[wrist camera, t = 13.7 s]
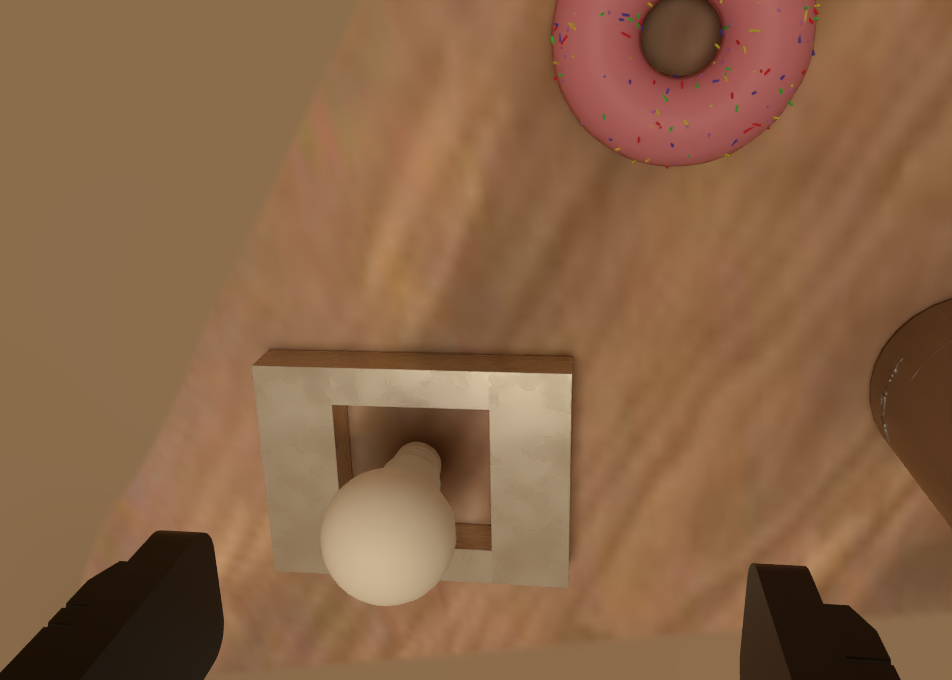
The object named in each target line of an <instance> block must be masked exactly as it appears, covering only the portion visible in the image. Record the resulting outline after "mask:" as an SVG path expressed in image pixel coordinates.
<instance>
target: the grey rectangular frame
mask: <svg viewBox="0 0 952 680" xmlns="http://www.w3.org/2000/svg"><path fill="white" fill-rule="evenodd" d="M252 373H253V382H254V390H255V399H256V408H257V417H258V426H259V435H260V444H261V452H262V461H263V470H264V479H265V488H266V497H267V505H268V514H269V523H270V532H271V541H272V550H273V559H274V567H275V571H287V572H304V573H321V574H330V573H329V571H328V569H327V567H326V565H325V563H324V559H323V556H322V550H321V540H320V534H321V526H322V521H323V517H324V514H325V512H326V509H327V507H328V505H329V503H330V502H331V500H332V499H333V497H334V496H335V494H336V493H337V492H338V491H339V490H340V489H341V488H342V487H343V486H344V485H345V484H346V483H348V482H349V481H350V480H351V479H352V467H351V454H350V441H349V428H348V415H347V405H352V406H383V407H415V408H446V409H477V410H489V418H490V476H491V525H474V524H455V528H456V544H455V550H454V554H453V558H452V561H451V563H450V565H449V567H448V569H447V571H446V572H445V574H444V575H443V577H442V578H441V579H440V580H441V581H458V582H475V583H492V584H509V585H526V586H543V587H560V588H568V582H569V558H570V497H571V436H572V375H573V356H534V355H491V354H449V353H407V352H365V351H323V350H280V349H269V350H268V351H267V352H266V353H265V354H264V355H263V356H262V357H261V358H259V359H258V360H257V361H256V362H255V363H254V364H253V365H252Z"/></svg>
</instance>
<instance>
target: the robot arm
mask: <svg viewBox="0 0 952 680" xmlns="http://www.w3.org/2000/svg"><path fill="white" fill-rule="evenodd" d="M870 404H871V409H872V413H873V417H874V421H875V423H876V425H877V427H878V429H879V430H880V432H881V434H882V436H883V437H884V439H885V440H886V441H887V443H888V444H889V445H890V447H891V448H892V449H893V451H894V452H895V453H896V455H897V456H898V457H899V459H900V460H901V461H902V463H903V464H904V465H905V467H906V468H907V469H908V471H909V473H910V474H911V475H912V477H913V478H914V479H915V481H916V482H917V483H918V484H919V486H920V487H921V488H922V490H923V491H924V492H925V494H926V495H927V496H928V498H929V499H930V500H931V502H932V503H933V504H934V506H935V507H936V508H937V510H938V511H939V512H940V514H941V515H942V516H943V518H944V519H945V520H946V522H947V523H948V524H949V526H950V527H951V528H952V300H949V301H946V302H944V303H941V304H938V305H935V306H933V307H931V308H929V309H928V310H926V311H924V312H922V313H921V314H919V315H917V316H915V317H914V318H913V319H912V320H910V321H909V322H908V323H907V324H906V325H904V326H903V327H902V328H901V329H900V330H899V331H897V333H896V334H895V335H894V336H893V338H892V339H891V340H890V341H889V343H888V344H887V345H886V346H885V348H884V349H883V351H882V353H881V355H880V357H879V359H878V361H877V363H876V365H875V368H874V372H873V376H872V380H871V384H870ZM223 631H224V617H223V609H222V602H221V595H220V587H219V580H218V573H217V566H216V559H215V551H214V545H213V542H212V539H211V537H210V536H209V535H208V534H207V533H201V532H182V531H163V530H159V531H156V532H155V533H153V534H152V535H151V536H150V537H149V538H148V540H147V541H146V542H145V543H144V544H143V545H142V546H141V547H140V548H139V549H138V551H137V552H136V553H135V554H134V555H133V556H132V557H131V558H130V559H129V560H128V562H126V561H119V562H118V563H116V564H114V565H113V566H111V567H109V568H108V569H106V570H104V571H103V572H101V573H99V574H98V575H96V576H94V577H93V578H91V579H89V580H88V581H87V582H86V583H85V584H84V585H83V586H82V587H81V588H80V589H79V590H78V591H77V593H76V594H75V595H74V596H73V597H72V598H71V599H70V600H69V601H68V602H67V603H66V608H61V609H60V611H58V612H57V614H56V615H55V616H54V617H53V618H52V619H51V620H50V621H49V622H48V627H43V628H42V629H41V630H40V631H39V632H38V634H37V635H36V636H35V637H34V638H33V639H32V640H31V641H30V642H29V643H28V644H27V645H26V646H25V647H24V648H23V649H22V650H21V651H20V653H19V654H18V655H17V656H16V657H15V658H14V659H13V660H12V661H11V662H10V663H9V664H8V665H7V666H6V667H5V668H4V669H3V670H2V672H0V680H204V678H205V677H206V675H207V673H208V672H209V670H210V669H211V667H212V665H213V664H214V662H215V660H216V658H217V656H218V653H219V650H220V647H221V643H222V638H223ZM740 680H901V679H900V678H899V675H898V673H897V671H896V669H895V667H894V665H891V659H890V657H889V655H888V653H887V651H886V649H885V647H884V645H883V643H882V641H881V639H880V637H879V635H878V633H877V631H876V630H875V629H874V628H873V627H872V626H871V625H870V624H868V623H867V622H866V621H865V620H864V619H863V618H862V617H861V616H860V615H859V614H858V613H856V612H855V611H854V610H853V609H852V608H851V607H850V606H849V605H833V604H823V602H822V600H821V597H820V595H819V592H818V590H817V588H816V585H815V583H814V580H813V578H812V576H811V573H810V571H809V569H808V568H807V567H806V566H793V565H774V564H756V563H752V564H751V565H750V567H749V571H748V577H747V587H746V598H745V608H744V619H743V629H742V641H741V651H740Z"/></svg>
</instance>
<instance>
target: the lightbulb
mask: <svg viewBox="0 0 952 680" xmlns="http://www.w3.org/2000/svg"><path fill="white" fill-rule="evenodd" d="M440 472H441V459H440V456H439V454H438V453H437V451H436V450H435V449H434V448H433V447H431V446H430V445H428V444H426V443H422V442H410V443H407V444H405V445H404V446H402V447H401V448H400V449H399V451H398V452H397V453H396V455H395V456H394V458H393V459H391V460H390V461H388V462H387V463H386V464H385V466H384V467H383V468H380V469H374V470H370V471H367V472H365V473H362V474H360V475H358V476H356V477H355V478H353V479H351V480H350V481H349V482H348V483H346V484H345V485H344V486H343V487H342V488H341V489H340V490H339V491H338V492H337V493H336V494H335V496H334V497H333V499H332V500H331V502H330V503H329V505H328V507H327V509H326V512H325V514H324V517H323V521H322V526H321V534H320V540H321V550H322V556H323V559H324V563H325V565H326V567H327V569H328V571H329V573H330V574H331V576H332V577H333V579H334V580H335V581H336V583H337V584H338V585H339V586H340V587H341V588H342V589H343V590H344V591H346V592H347V593H348V594H350V595H351V596H353V597H354V598H356V599H358V600H361V601H363V602H366V603H369V604H373V605H378V606H393V605H400V604H404V603H407V602H411V601H414V600H416V599H418V598H420V597H421V596H423V595H424V594H426V593H427V592H428V591H429V590H430V589H432V588H433V587H434V586H435V585H436V584H437V583H438V582H439V581H440V579H441V578H442V577H443V575H444V574H445V572H446V571H447V569H448V567H449V565H450V563H451V561H452V558H453V554H454V550H455V544H456V528H455V521H454V517H453V513H452V510H451V508H450V506H449V504H448V502H447V500H446V499H445V497H444V496H443V495H442V493H441V492H440V487H441V482H440V477H439V476H440Z"/></svg>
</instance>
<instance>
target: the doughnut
mask: <svg viewBox="0 0 952 680" xmlns="http://www.w3.org/2000/svg"><path fill="white" fill-rule="evenodd" d="M660 1H661V0H557V1H556V5H555V10H554V15H553V22H552V36H551V42H552V58H553V64H554V70H555V74H556V77H554V80H557V81H558V84H559V87H560V89H561V92H562V94H563V96H564V98H565V100H566V102H567V104H568V106H569V107H570V109H571V111H572V112H573V114H574V115H575V117H576V118H577V119H578V121H579V122H580V123H581V126H583V127H584V128H585V129H586V130H587V131H588V132H589V133H590V134H591V135H592V136H594V137H595V138H596V139H597V140H598V141H600V142H601V143H602V144H604V145H605V146H607V147H608V148H610V149H611V150H613V151H614V152H616V153H618V154H620V155H622V156H625V157H627V158H629V159H632V160H633V161H632V163H634V162H637V161H638V162H642V163H646V164H651V165H657V166H666V168H668V166H688V165H696V164H702V163H706V162H710V161H713V160H716V159H719V158H721V157H724V156H728V157H730V154H731V153H733V152H735V151H737V150H738V149H740V148H742V147H743V146H745V145H746V144H748V143H749V142H750V141H752V140H753V139H754V138H756V137H757V136H758V135H760V134H761V133H762V132H763V131H765V130H766V129H769V127H770V126H771V125H772V124H773V123H774V122H775V121H776V120H777V119H778V120H779V119H780V117H779V116H780V115H781V113H782V112H783V111H784V109H785V108H786V106H787V105H788V103H789V104H790V106H792V105H793V104H792V102H791V98H792V97H793V95H794V94H795V92H796V90H797V89H798V87H799V85H800V84H801V82H802V80H803V78H804V76H805V74H806V71H807V69H808V66H809V63H810V59H811V56H812V55H815V53H814V50H813V47H814V40H815V30H816V20H818V17H816V15H817V14H818V12H817V11H816V7H819V6H820V4H816V1H815V0H707V1H708V2H709V3H710V4H711V5H712V6H713V7H714V9H715V10H716V12H717V14H718V16H719V19H720V22H721V29H720V33H721V34H722V35H721V42H720V45H718V44H717V43H716V44H715V46H716V47H717V53H716V54H715V56H714V58H713V59H712V60H711V61H710V63H709V64H708V65H707V66H705V67H704V68H703V69H702V70H700V71H698V72H696V73H694V74H692V75H689V76H684V77H679V76H677V75H674V77H672V76H668V75H665V74H662V73H660V72H659V71H657V70H656V69H654V68H653V67H652V66H651V65H650V64H649V62H648V61H647V59H646V58H645V56H644V53H643V50H642V46H641V31H643V26H644V21H645V18H646V16H647V15H648V13H649V12H650V10H651V9H652V8H653V7H654V6H655V5H656V4H657V3H658V2H660Z"/></svg>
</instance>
